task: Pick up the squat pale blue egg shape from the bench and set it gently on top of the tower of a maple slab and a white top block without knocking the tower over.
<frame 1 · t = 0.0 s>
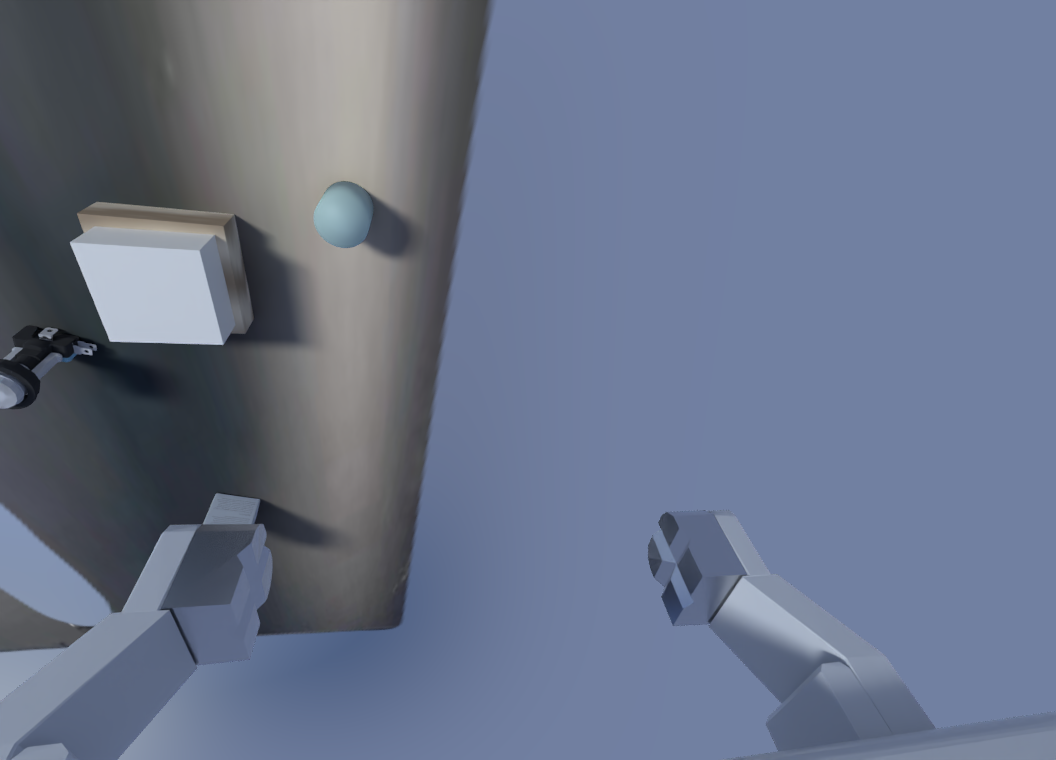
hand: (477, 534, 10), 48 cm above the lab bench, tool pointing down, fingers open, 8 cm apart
push button: (64, 338, 56), on the lab bench
white top block: (170, 279, 50), point 3 cm above the lab bench
skincare box: (238, 503, 75), on the lab bench
maple base block: (184, 263, 53), on the lab bench
pale blue egg shape: (348, 206, 52), on the lab bench
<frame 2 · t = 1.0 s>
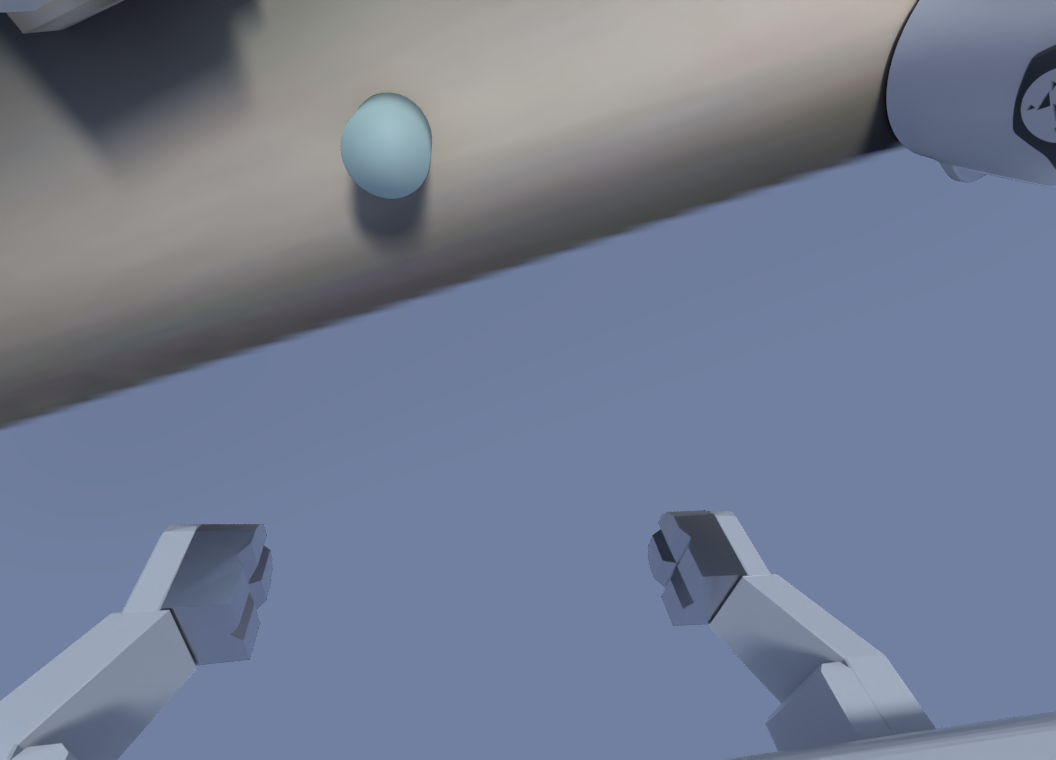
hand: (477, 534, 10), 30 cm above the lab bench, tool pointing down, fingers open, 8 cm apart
pale blue egg shape: (393, 136, 33), on the lab bench
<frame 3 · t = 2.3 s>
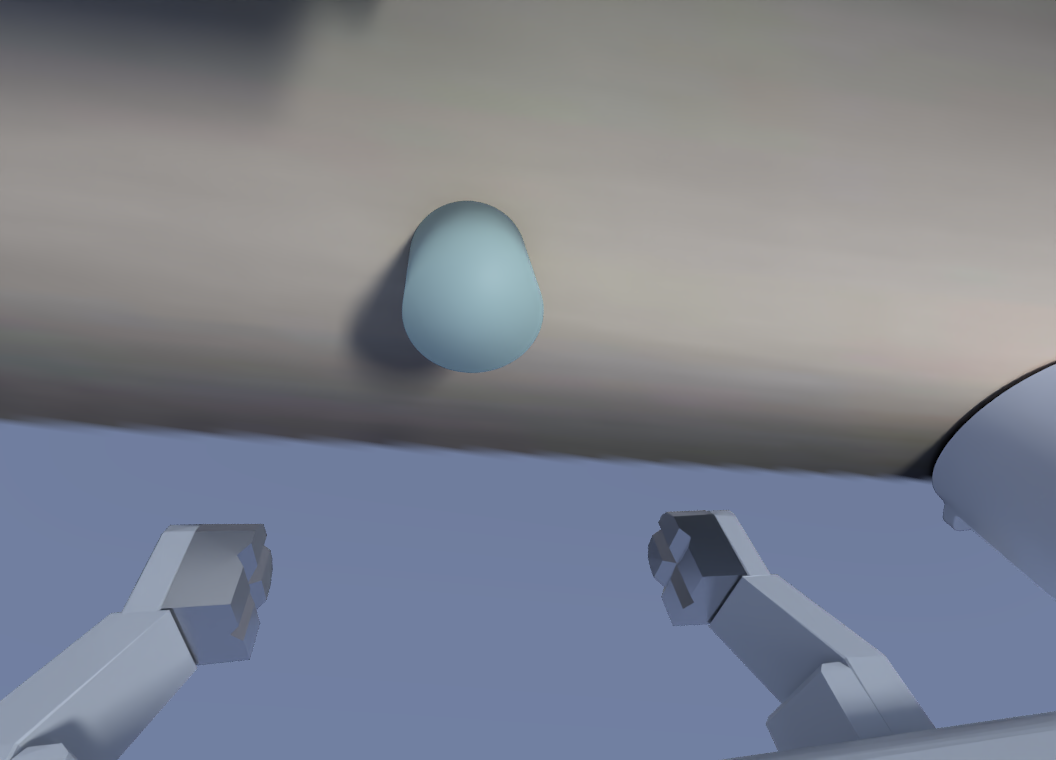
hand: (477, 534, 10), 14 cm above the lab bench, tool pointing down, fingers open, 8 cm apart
pale blue egg shape: (468, 258, 22), on the lab bench
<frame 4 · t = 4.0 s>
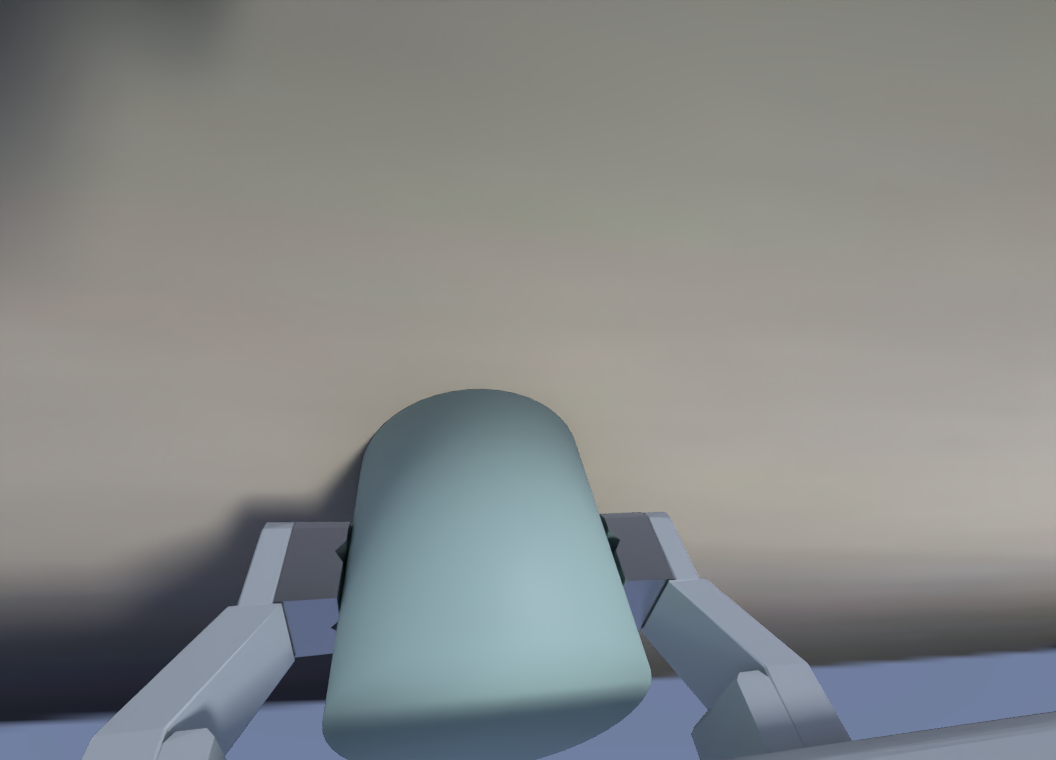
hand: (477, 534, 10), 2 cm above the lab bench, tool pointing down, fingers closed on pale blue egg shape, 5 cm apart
pale blue egg shape: (473, 474, 12), on the lab bench, touching gripper
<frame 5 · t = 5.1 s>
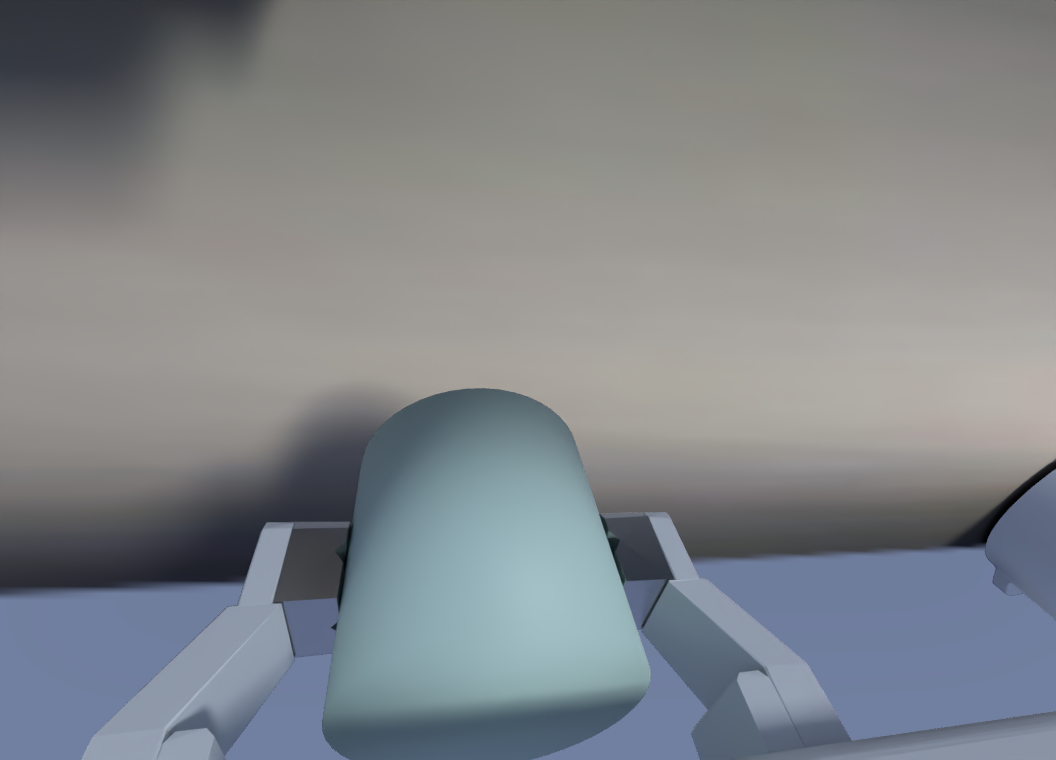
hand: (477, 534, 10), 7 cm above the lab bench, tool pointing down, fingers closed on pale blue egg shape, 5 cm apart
pale blue egg shape: (472, 473, 12), point 6 cm above the lab bench, touching gripper
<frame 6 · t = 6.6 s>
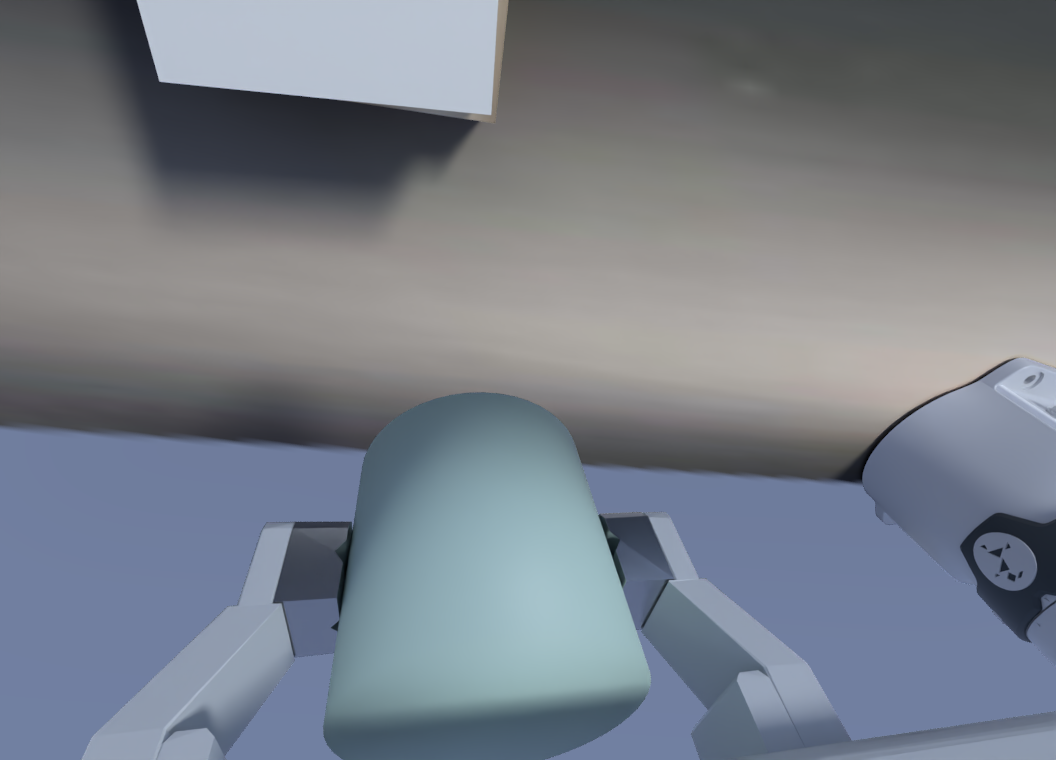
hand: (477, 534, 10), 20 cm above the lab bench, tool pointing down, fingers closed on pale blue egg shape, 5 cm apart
pale blue egg shape: (473, 476, 12), point 18 cm above the lab bench, touching gripper
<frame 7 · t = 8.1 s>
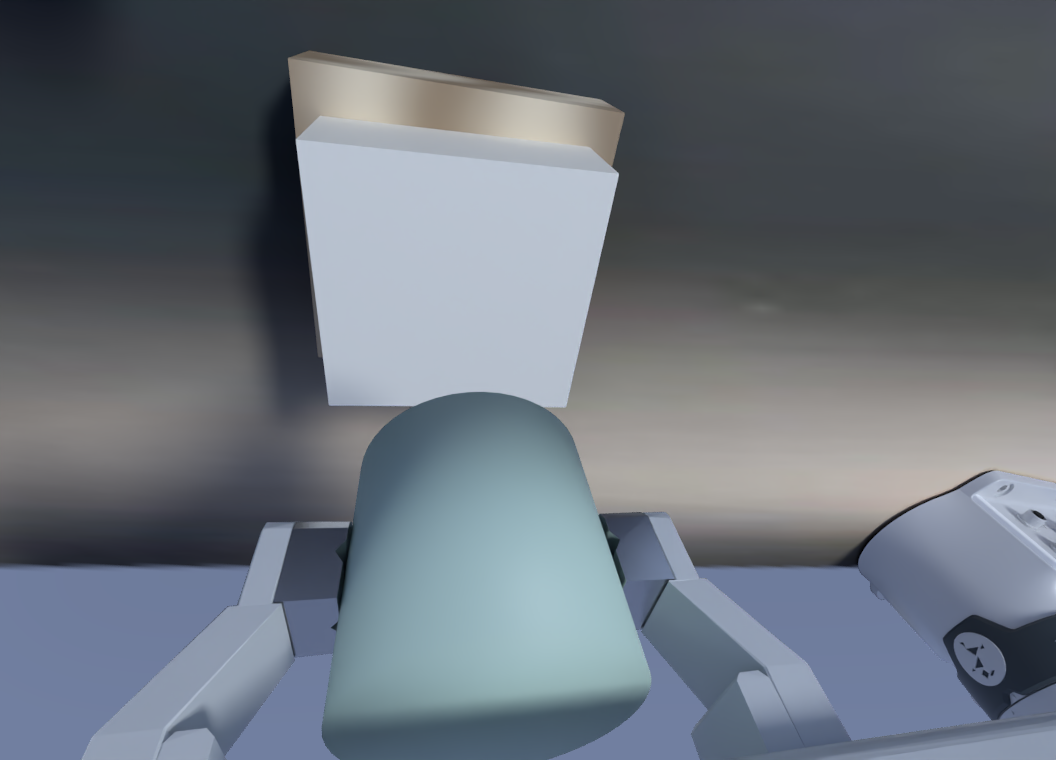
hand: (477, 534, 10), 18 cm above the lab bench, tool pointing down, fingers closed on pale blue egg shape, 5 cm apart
white top block: (455, 258, 22), point 3 cm above the lab bench, touching maple base block
maple base block: (453, 216, 25), on the lab bench, touching white top block
pale blue egg shape: (473, 476, 12), point 16 cm above the lab bench, touching gripper
when the fingers open (10 cm above the lab bench, at t = 10.4 s): pale blue egg shape moves 1 cm, resting on white top block.
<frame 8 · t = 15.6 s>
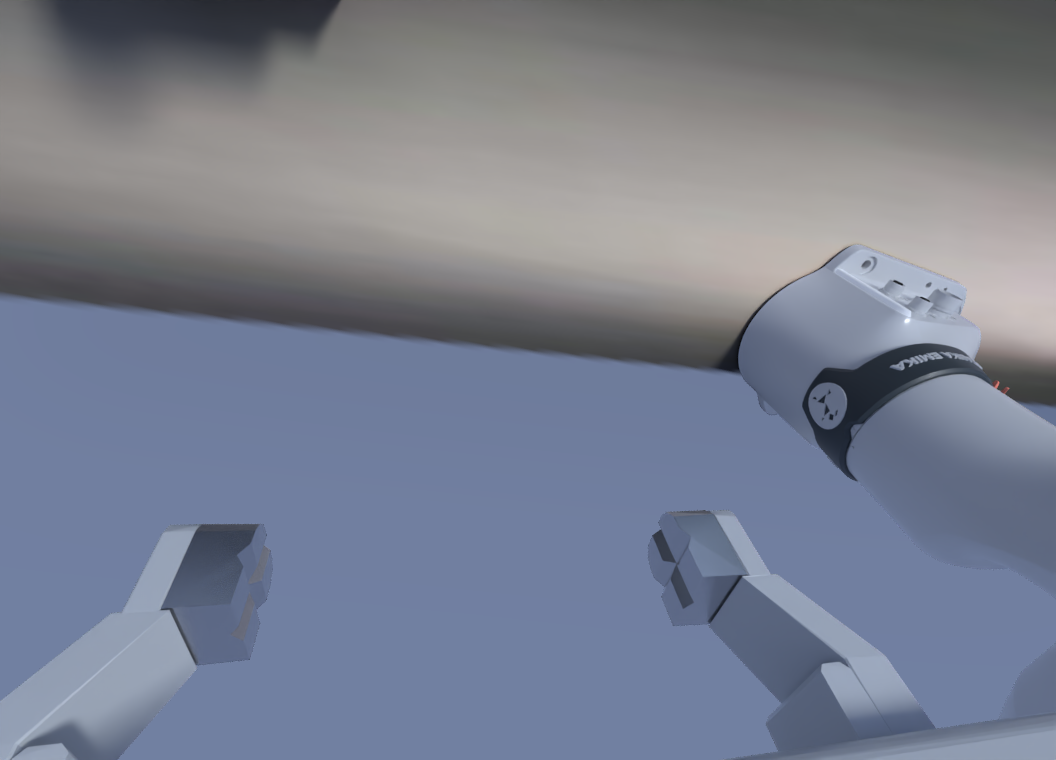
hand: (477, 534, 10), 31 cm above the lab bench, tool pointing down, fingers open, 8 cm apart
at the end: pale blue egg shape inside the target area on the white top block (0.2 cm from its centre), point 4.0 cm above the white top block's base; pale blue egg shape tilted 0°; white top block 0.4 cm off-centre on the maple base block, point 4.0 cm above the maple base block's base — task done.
